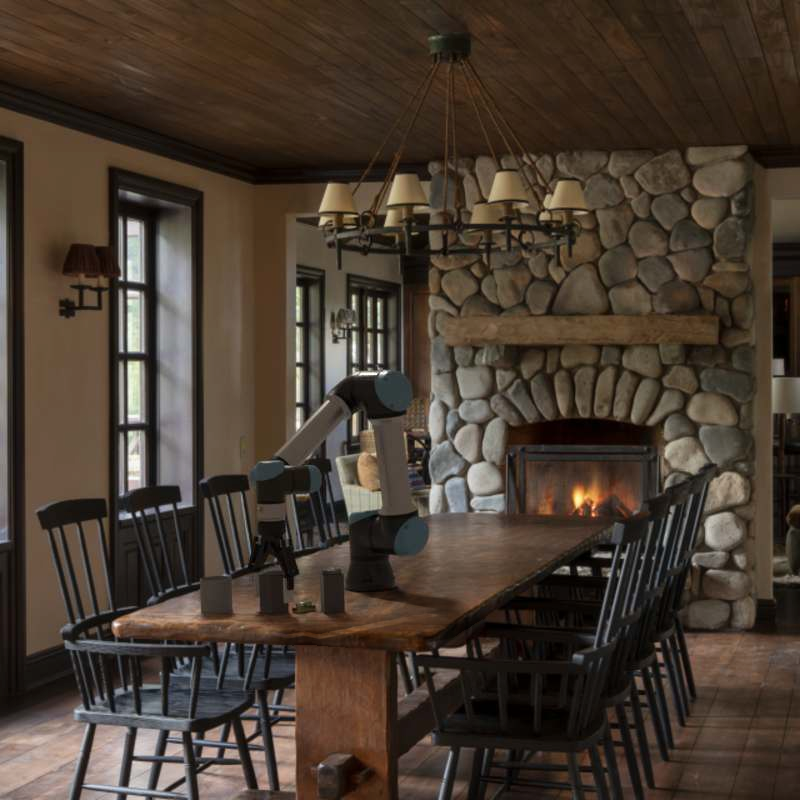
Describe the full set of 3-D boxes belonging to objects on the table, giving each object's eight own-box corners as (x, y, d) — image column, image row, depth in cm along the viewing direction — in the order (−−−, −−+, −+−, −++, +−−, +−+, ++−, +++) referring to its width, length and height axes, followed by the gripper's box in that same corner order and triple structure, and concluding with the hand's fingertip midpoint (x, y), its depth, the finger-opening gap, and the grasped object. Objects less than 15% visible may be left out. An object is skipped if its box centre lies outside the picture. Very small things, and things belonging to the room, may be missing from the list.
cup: (234, 611, 354) (232, 575, 354) (231, 617, 346) (230, 580, 345) (202, 613, 354) (201, 576, 353) (199, 618, 345) (198, 581, 345)
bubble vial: (310, 609, 348) (310, 600, 348) (315, 610, 346) (315, 601, 346) (292, 613, 344) (291, 603, 344) (297, 614, 342) (297, 604, 342)
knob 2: (320, 610, 346) (319, 567, 345) (340, 608, 347) (339, 566, 347) (324, 613, 340) (323, 570, 340) (344, 612, 342) (343, 569, 341)
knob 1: (276, 609, 349) (275, 567, 348) (288, 612, 345) (287, 569, 344) (260, 612, 345) (258, 569, 345) (272, 614, 341) (270, 571, 341)
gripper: (233, 517, 351) (235, 595, 352) (287, 523, 332) (289, 606, 333) (256, 515, 356) (258, 592, 357) (311, 521, 337) (313, 602, 338)
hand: (273, 599), depth 345 cm, fingers open, 13 cm apart
